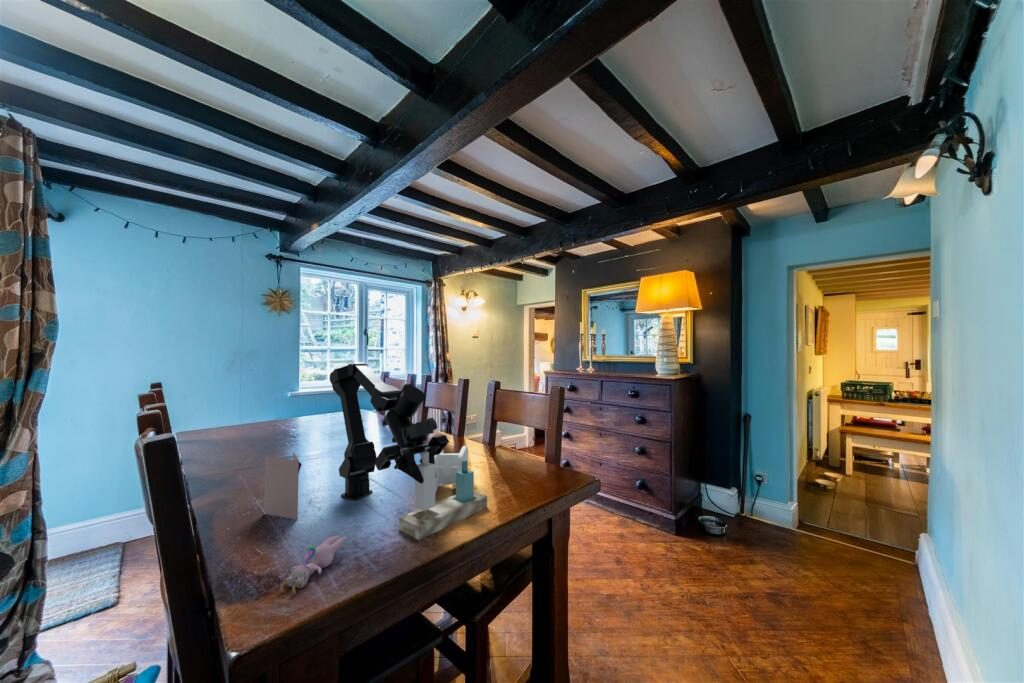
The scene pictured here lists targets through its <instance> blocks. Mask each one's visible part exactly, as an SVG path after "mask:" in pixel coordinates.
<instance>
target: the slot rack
mask: <svg viewBox="0 0 1024 683" xmlns="http://www.w3.org/2000/svg"><path fill="white" fill-rule="evenodd" d="M487 508H488V496H487V495H484V494H482V493H478V492H475V491H474V500H471V501H469V502H467V503H462V502H459V501H456V494H454V495H451V496H449V497H446V498H444V499H441V500H439V501H435V507H432V508H430V509H427V510H425V511H423V510H420V509H418V508H417V509H416V510H414V511H411V512H409V513H406V514H404V515H401V516H398V530H399V531H400V532H402V533H404V534H406V535H407V536H410V537H411V538H414V539H415V540H418V541H420V540H423V539H425V538H426V537H429V536H431V535H433V534H436V533H437V532H439V531H441V530H443V529H445V528H448V527H450V526H452V525H454V524H456V523H458V522H460V521H462V520H465V519H467V518H468V516H469V517H471V516H473V515H475V514H477V513H479V512H481V511H483V510H485V509H487ZM472 514H473V515H472ZM470 515H471V516H470ZM466 517H467V518H466Z"/></svg>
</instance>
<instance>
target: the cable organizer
mask: <svg viewBox="0 0 1024 683" xmlns="http://www.w3.org/2000/svg"><path fill="white" fill-rule="evenodd" d="M468 451H469V450H468V445H463V446H461V449H460V451H459V452H458V453H456V452H455V453H449V452H448V453H445V452H444V449H443V451H442V452H441V453H440V454H438V455H435V465H436V466H435V469H436V478H435V494H436V493H437V491H438V489H439V488H440V487H442V489H444V485H452V487H456V472H458V471H461V470H462V460H468V461H469V459H468Z"/></svg>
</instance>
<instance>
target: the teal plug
mask: <svg viewBox="0 0 1024 683" xmlns="http://www.w3.org/2000/svg"><path fill="white" fill-rule="evenodd" d="M468 461H469V459H468V460H462V470H461V471H458V472H456V486H455V495H456V501H459V502H462V503H467V502H469V501H471V500H474V492H475V490H474V485H475V483H474V482H475V481H474V479H475V478H474V477H475V476H474V475H475V474H474V471H472V470H468V469H469V468H468V467H469V466H468Z"/></svg>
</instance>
